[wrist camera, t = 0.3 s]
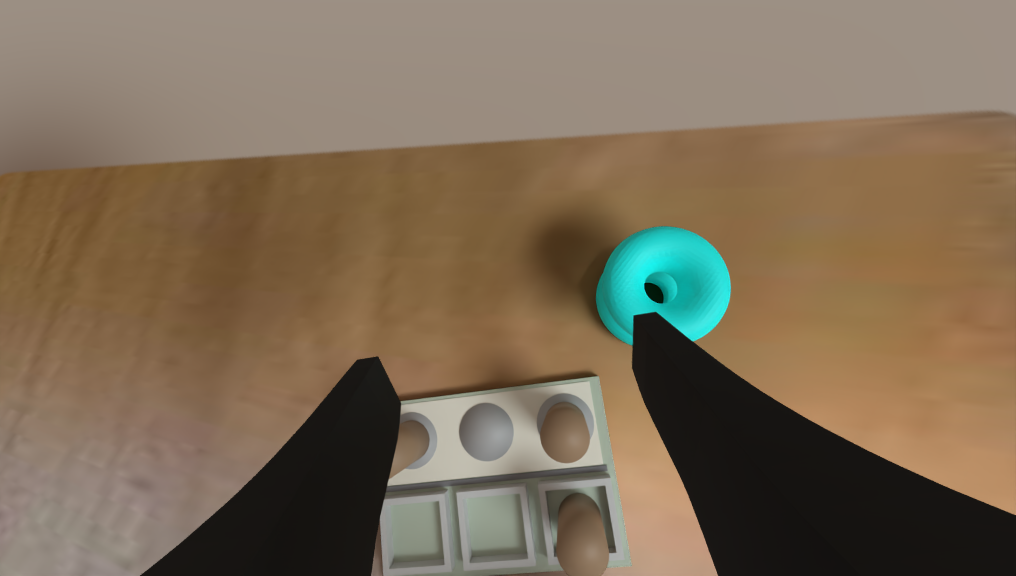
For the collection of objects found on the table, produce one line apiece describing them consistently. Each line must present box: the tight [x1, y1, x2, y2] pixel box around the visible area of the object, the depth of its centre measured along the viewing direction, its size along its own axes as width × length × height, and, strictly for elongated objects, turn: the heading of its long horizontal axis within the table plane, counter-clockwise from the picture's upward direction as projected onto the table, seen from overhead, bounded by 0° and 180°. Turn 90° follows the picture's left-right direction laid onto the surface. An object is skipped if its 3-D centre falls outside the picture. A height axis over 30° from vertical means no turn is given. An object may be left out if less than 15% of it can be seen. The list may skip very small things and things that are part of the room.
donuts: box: [596, 226, 731, 346], centre depth 35 cm, size 10×10×10 cm
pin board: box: [380, 376, 632, 576], centre depth 35 cm, size 17×24×8 cm
